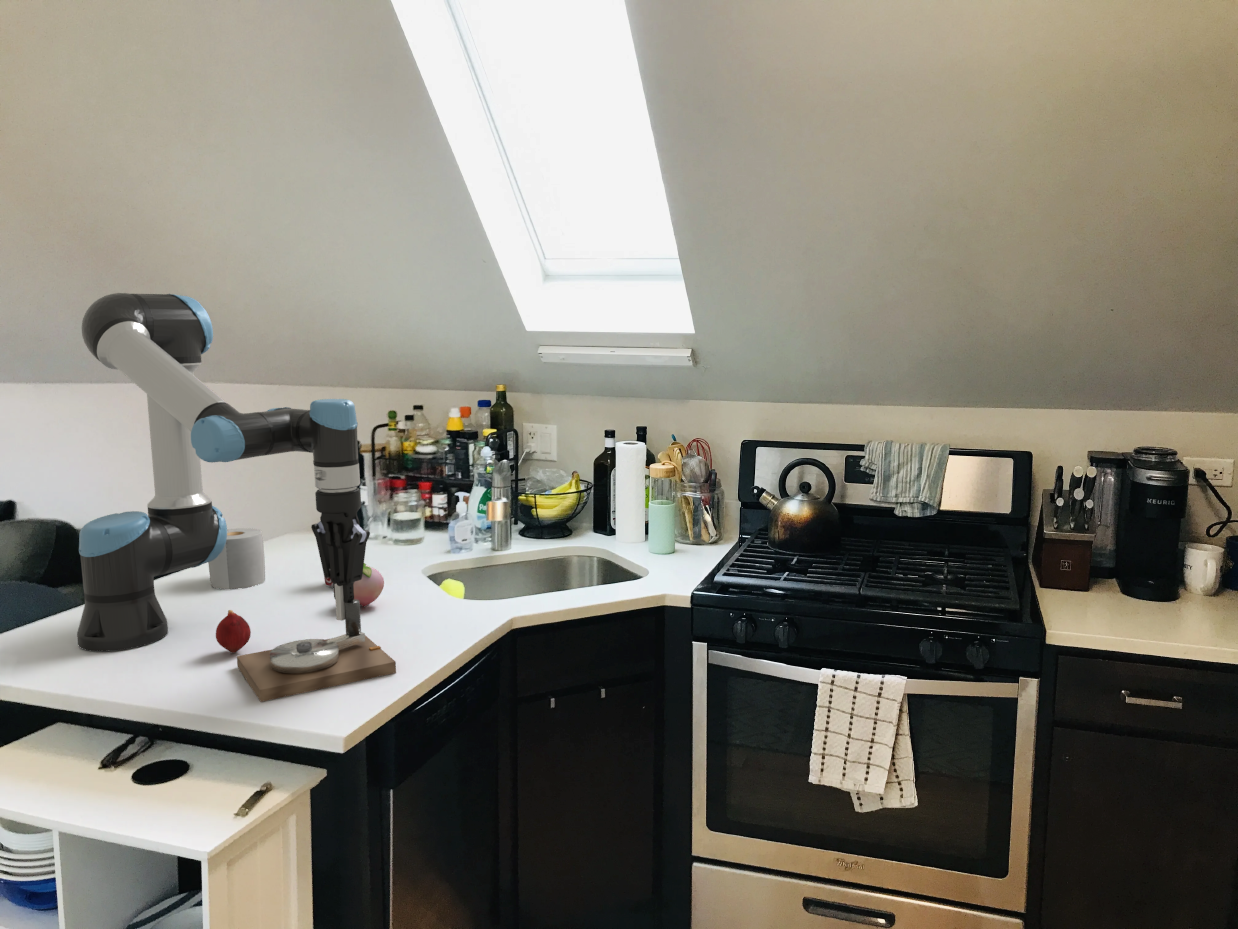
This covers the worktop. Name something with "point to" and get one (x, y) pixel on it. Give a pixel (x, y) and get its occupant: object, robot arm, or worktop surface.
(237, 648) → the onion
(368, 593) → the decorative fruit
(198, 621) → the worktop surface
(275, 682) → the wooden cutting board
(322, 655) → the dial
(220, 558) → the toilet paper roll
